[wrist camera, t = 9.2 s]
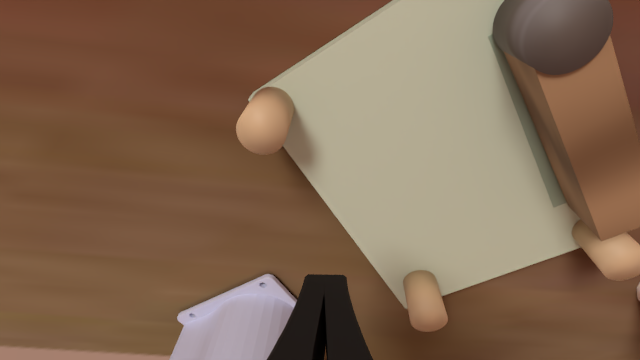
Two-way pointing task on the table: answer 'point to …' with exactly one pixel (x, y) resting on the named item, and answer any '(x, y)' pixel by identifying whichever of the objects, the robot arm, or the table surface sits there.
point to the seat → (426, 153)
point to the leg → (577, 105)
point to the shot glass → (638, 292)
